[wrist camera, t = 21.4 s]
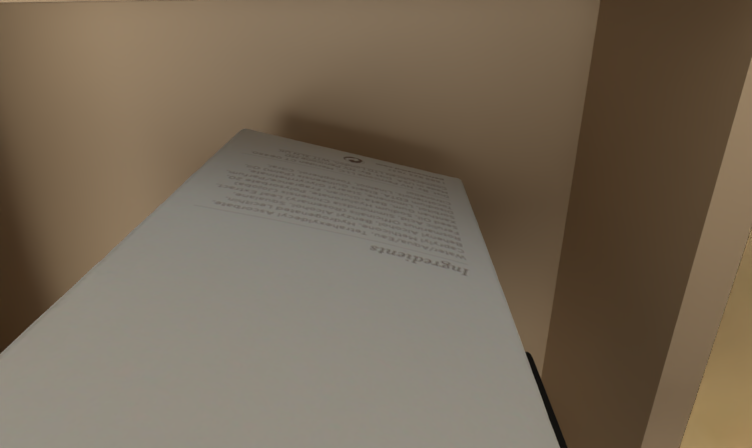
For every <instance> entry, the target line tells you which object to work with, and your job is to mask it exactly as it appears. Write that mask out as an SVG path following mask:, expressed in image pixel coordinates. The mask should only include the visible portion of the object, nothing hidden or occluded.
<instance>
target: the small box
mask: <svg viewBox="0 0 752 448" xmlns="http://www.w3.org/2000/svg"><path fill="white" fill-rule="evenodd" d="M0 448H560V446H559V444H558V441H557V438H556V436H555V433H554V430H553V428H552V425H551V423H550V420H549V417H548V414H547V411H546V408H545V406H544V403H543V400H542V397H541V394H540V392H539V389H538V386H537V383H536V381H535V378H534V375H533V373H532V370H531V367H530V364H529V361H528V359H527V356H526V353H525V350H524V347H523V345H522V342H521V339H520V336H519V334H518V331H517V328H516V326H515V323H514V320H513V317H512V315H511V312H510V309H509V306H508V303H507V301H506V298H505V295H504V293H503V290H502V287H501V285H500V282H499V280H498V277H497V274H496V271H495V268H494V266H493V263H492V261H491V258H490V255H489V252H488V250H487V247H486V244H485V241H484V239H483V236H482V233H481V231H480V229H479V225H478V222H477V220H476V218H475V215H474V212H473V210H472V207H471V204H470V202H469V199H468V196H467V194H466V191H465V188H464V186H463V183H462V181H461V180H460V179H459V178H455V177H450V176H445V175H441V174H436V173H432V172H428V171H424V170H420V169H415V168H411V167H407V166H403V165H399V164H394V163H390V162H386V161H382V160H378V159H373V158H369V157H365V156H361V155H357V154H352V153H348V152H344V151H340V150H336V149H331V148H327V147H323V146H318V145H314V144H310V143H305V142H301V141H297V140H293V139H289V138H284V137H280V136H276V135H272V134H267V133H263V132H258V131H254V130H251V129H245V128H244V129H242V130H240V131H239V132H238V133H237V134H236V135H235V136H234V137H233V138H232V139H231V140H230V141H229V142H228V143H226V144H225V145H224V146H223V147H222V148H221V149H220V150H218V151H217V152H216V153H215V154H214V155H213V156H212V157H211V158H210V159H209V160H208V161H207V162H206V163H205V164H204V165H203V166H202V167H201V168H200V169H198V170H197V171H196V172H195V173H194V174H193V175H191V176H190V177H189V178H188V179H187V180H186V181H185V182H184V183H183V184H182V185H181V186H180V187H179V188H178V189H177V190H176V191H175V192H174V193H173V194H172V195H171V196H170V197H168V198H167V199H166V200H165V201H164V202H163V203H162V204H161V205H160V206H158V207H157V208H156V210H155V211H154V212H153V213H151V214H150V215H149V216H148V217H147V218H146V219H145V220H144V221H143V222H141V223H140V224H139V225H138V226H137V227H136V228H135V229H134V230H132V231H131V232H130V233H129V234H128V235H127V236H126V237H125V238H124V239H123V240H122V241H121V242H120V243H119V244H118V245H117V246H115V247H114V248H113V249H112V250H111V251H110V252H109V253H108V254H107V255H106V256H105V257H104V258H103V259H102V260H101V261H100V262H98V263H97V264H96V265H95V266H94V267H93V268H92V269H91V270H89V271H88V272H87V273H86V274H85V275H84V276H83V277H82V278H81V279H80V280H79V281H78V282H77V283H76V284H75V285H74V286H73V287H72V288H71V289H70V290H68V291H67V292H66V293H65V294H64V295H63V296H62V297H61V298H60V299H59V300H57V301H56V302H55V303H54V304H53V305H52V306H51V307H50V308H49V309H48V310H47V311H45V312H44V313H43V314H42V315H41V316H40V317H39V318H38V319H37V320H36V321H34V322H33V323H32V324H31V325H30V326H29V327H28V328H27V329H26V330H25V331H24V332H23V333H22V334H21V335H20V336H19V337H18V338H16V339H15V340H14V341H13V342H12V343H11V344H10V345H9V346H8V347H7V348H6V349H5V350H4V351H3V352H2V353H1V354H0Z"/></svg>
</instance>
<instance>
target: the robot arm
mask: <svg viewBox="0 0 752 448" xmlns="http://www.w3.org/2000/svg"><path fill="white" fill-rule="evenodd" d="M525 353H526V356H527V359H528V361H529V364H530V367H531V370H532V373H533V375H534V378H535V381H536V383H537V386H538V389H539V392H540V394H541V397H542V400H543V403H544V406H545V408H546V411H547V414H548V417H549V420H550V423H551V425H552V428H553V430H554V433H555V436H556V438H557V441H558V444H559V446H560V448H568V447H567V445H566V442H565V439H564V437H563V434H562V432H561V429H560V427H559V424H558V421H557V419H556V416H555V414H554V411H553V409H552V406H551V403H550V401H549V398H548V396H547V393H546V390H545V388H544V385H543V383H542V380H541V378H540V375H539V372H538V370H537V367H536V365H535V362H534V359H533V357H532V355H531V354H530V353H529V352H525Z"/></svg>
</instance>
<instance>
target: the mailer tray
mask: <svg viewBox="0 0 752 448" xmlns="http://www.w3.org/2000/svg"><path fill="white" fill-rule="evenodd" d="M244 128H245V129H251V130H254V131H258V132H263V133H267V134H272V135H276V136H280V137H284V138H289V139H293V140H297V141H301V142H305V143H310V144H314V145H318V146H323V147H327V148H331V149H336V150H340V151H344V152H348V153H352V154H357V155H361V156H365V157H369V158H373V159H378V160H382V161H386V162H390V163H394V164H399V165H403V166H407V167H411V168H415V169H420V170H424V171H428V172H432V173H436V174H441V175H445V176H450V177H455V178H459V179H460V180H461V181H462V183H463V186H464V188H465V191H466V194H467V196H468V199H469V202H470V204H471V207H472V210H473V212H474V215H475V218H476V220H477V222H478V225H479V229H480V231H481V233H482V236H483V239H484V241H485V244H486V247H487V250H488V252H489V255H490V258H491V261H492V263H493V266H494V268H495V271H496V274H497V277H498V280H499V282H500V285H501V287H502V290H503V293H504V295H505V298H506V301H507V303H508V306H509V309H510V312H511V315H512V317H513V320H514V323H515V326H516V328H517V331H518V334H519V336H520V339H521V342H522V345H523V347H524V350H525V352H529V353H530V354H531V355H532V357H533V359H534V362H535V365H536V367H537V370H538V372H539V375H540V378H541V380H542V383H543V385H544V388H545V390H546V393H547V396H548V398H549V401H550V403H551V406H552V409H553V411H554V414H555V416H556V419H557V421H558V424H559V427H560V429H561V432H562V434H563V437H564V439H565V442H566V445H567V447H568V448H680V445H681V441H682V438H683V435H684V432H685V429H686V426H687V423H688V420H689V417H690V414H691V411H692V408H693V405H694V402H695V399H696V396H697V393H698V390H699V387H700V383H701V380H702V377H703V374H704V371H705V368H706V365H707V362H708V359H709V356H710V353H711V350H712V347H713V344H714V341H715V338H716V335H717V332H718V329H719V326H720V322H721V319H722V316H723V313H724V310H725V307H726V304H727V301H728V298H729V295H730V292H731V289H732V286H733V283H734V280H735V277H736V274H737V271H738V268H739V265H740V261H741V258H742V255H743V252H744V249H745V246H746V243H747V240H748V237H749V234H750V231H751V228H752V0H0V354H1V353H2V352H3V351H4V350H5V349H6V348H7V347H8V346H9V345H10V344H11V343H12V342H13V341H14V340H15V339H16V338H18V337H19V336H20V335H21V334H22V333H23V332H24V331H25V330H26V329H27V328H28V327H29V326H30V325H31V324H32V323H33V322H34V321H36V320H37V319H38V318H39V317H40V316H41V315H42V314H43V313H44V312H45V311H47V310H48V309H49V308H50V307H51V306H52V305H53V304H54V303H55V302H56V301H57V300H59V299H60V298H61V297H62V296H63V295H64V294H65V293H66V292H67V291H68V290H70V289H71V288H72V287H73V286H74V285H75V284H76V283H77V282H78V281H79V280H80V279H81V278H82V277H83V276H84V275H85V274H86V273H87V272H88V271H89V270H91V269H92V268H93V267H94V266H95V265H96V264H97V263H98V262H100V261H101V260H102V259H103V258H104V257H105V256H106V255H107V254H108V253H109V252H110V251H111V250H112V249H113V248H114V247H115V246H117V245H118V244H119V243H120V242H121V241H122V240H123V239H124V238H125V237H126V236H127V235H128V234H129V233H130V232H131V231H132V230H134V229H135V228H136V227H137V226H138V225H139V224H140V223H141V222H143V221H144V220H145V219H146V218H147V217H148V216H149V215H150V214H151V213H153V212H154V211H155V210H156V208H157V207H158V206H160V205H161V204H162V203H163V202H164V201H165V200H166V199H167V198H168V197H170V196H171V195H172V194H173V193H174V192H175V191H176V190H177V189H178V188H179V187H180V186H181V185H182V184H183V183H184V182H185V181H186V180H187V179H188V178H189V177H190V176H191V175H193V174H194V173H195V172H196V171H197V170H198V169H200V168H201V167H202V166H203V165H204V164H205V163H206V162H207V161H208V160H209V159H210V158H211V157H212V156H213V155H214V154H215V153H216V152H217V151H218V150H220V149H221V148H222V147H223V146H224V145H225V144H226V143H228V142H229V141H230V140H231V139H232V138H233V137H234V136H235V135H236V134H237V133H238V132H239V131H240V130H242V129H244Z"/></svg>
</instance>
